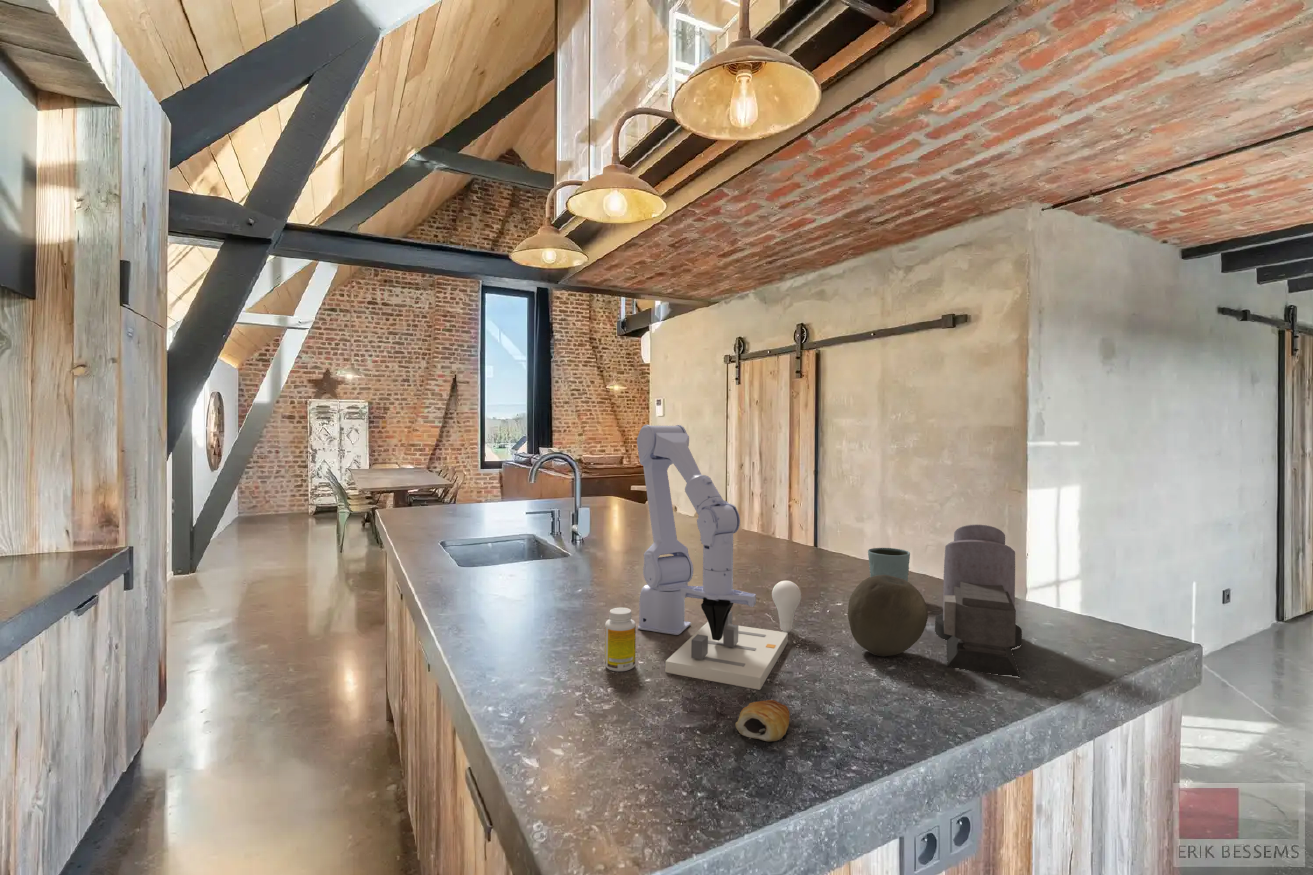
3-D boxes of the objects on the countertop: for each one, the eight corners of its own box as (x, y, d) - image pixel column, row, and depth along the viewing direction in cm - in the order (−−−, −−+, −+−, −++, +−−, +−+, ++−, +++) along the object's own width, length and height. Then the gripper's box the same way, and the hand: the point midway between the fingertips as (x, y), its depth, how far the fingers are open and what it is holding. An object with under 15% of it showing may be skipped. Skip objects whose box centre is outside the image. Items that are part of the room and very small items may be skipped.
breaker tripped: (723, 645, 112) (723, 628, 112) (728, 640, 115) (728, 623, 115) (733, 647, 111) (733, 630, 111) (738, 641, 114) (738, 625, 114)
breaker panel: (665, 672, 106) (665, 660, 106) (708, 630, 128) (708, 620, 128) (759, 689, 99) (760, 677, 99) (787, 642, 121) (787, 632, 121)
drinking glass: (915, 603, 149) (916, 555, 149) (875, 602, 149) (876, 555, 149) (899, 592, 159) (900, 547, 159) (862, 591, 160) (862, 546, 159)
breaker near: (691, 657, 106) (691, 639, 106) (697, 651, 109) (697, 634, 109) (702, 659, 105) (702, 641, 105) (707, 653, 108) (707, 635, 108)
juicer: (935, 619, 137) (937, 513, 137) (1016, 629, 130) (1018, 518, 130) (934, 665, 110) (936, 533, 110) (1036, 682, 103) (1038, 541, 103)
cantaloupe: (889, 673, 106) (890, 589, 106) (831, 647, 118) (833, 572, 118) (942, 660, 112) (943, 581, 112) (882, 636, 125) (883, 565, 125)
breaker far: (718, 630, 121) (718, 614, 121) (722, 625, 124) (722, 609, 124) (727, 631, 120) (727, 615, 120) (732, 626, 123) (732, 611, 123)
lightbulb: (801, 638, 123) (801, 585, 123) (771, 635, 125) (771, 583, 124) (800, 628, 129) (800, 578, 129) (771, 626, 131) (772, 576, 130)
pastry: (758, 708, 93) (758, 684, 93) (800, 721, 89) (801, 695, 89) (732, 734, 85) (733, 708, 85) (777, 749, 81) (778, 721, 81)
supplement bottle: (640, 669, 107) (640, 612, 107) (611, 674, 104) (611, 616, 104) (628, 658, 112) (628, 604, 112) (600, 663, 109) (600, 608, 109)
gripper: (675, 568, 113) (674, 639, 113) (749, 576, 107) (748, 651, 108) (687, 561, 120) (687, 628, 120) (759, 568, 114) (758, 638, 114)
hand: (717, 638), depth 114 cm, fingers closed
